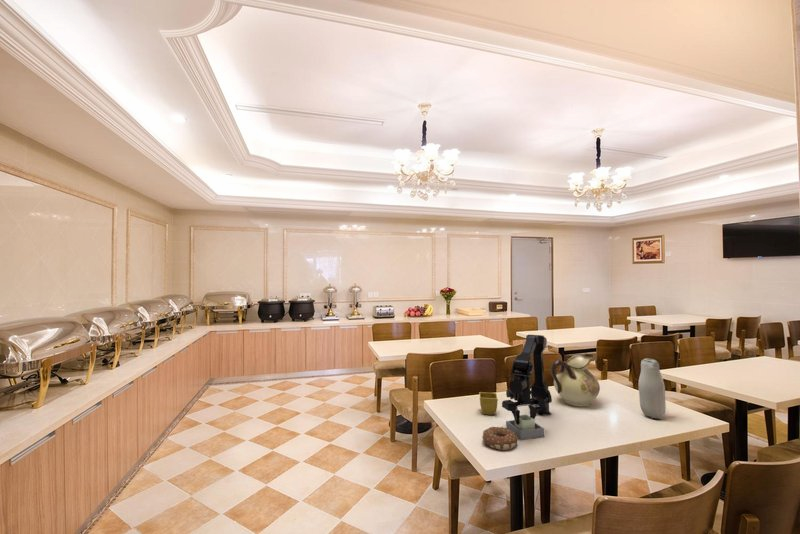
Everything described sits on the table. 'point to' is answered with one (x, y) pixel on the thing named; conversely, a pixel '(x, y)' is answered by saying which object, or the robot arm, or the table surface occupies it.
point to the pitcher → (575, 381)
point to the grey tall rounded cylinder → (651, 389)
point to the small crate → (525, 423)
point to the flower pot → (488, 402)
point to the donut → (500, 438)
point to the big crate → (525, 431)
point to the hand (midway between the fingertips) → (524, 423)
